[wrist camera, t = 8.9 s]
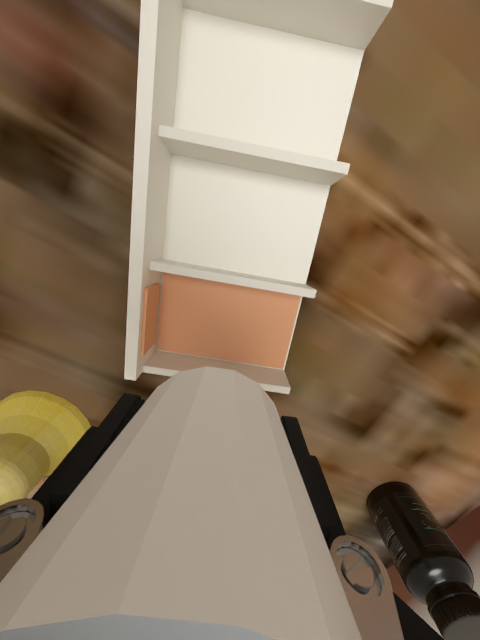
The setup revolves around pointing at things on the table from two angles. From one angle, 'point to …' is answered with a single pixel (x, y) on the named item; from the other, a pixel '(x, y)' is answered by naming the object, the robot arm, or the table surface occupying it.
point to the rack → (234, 175)
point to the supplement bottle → (427, 560)
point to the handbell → (34, 439)
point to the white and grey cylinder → (184, 532)
